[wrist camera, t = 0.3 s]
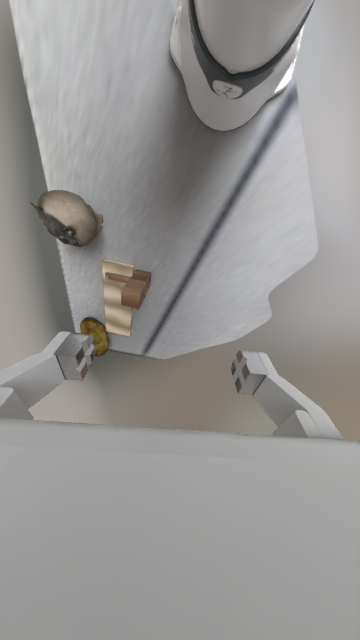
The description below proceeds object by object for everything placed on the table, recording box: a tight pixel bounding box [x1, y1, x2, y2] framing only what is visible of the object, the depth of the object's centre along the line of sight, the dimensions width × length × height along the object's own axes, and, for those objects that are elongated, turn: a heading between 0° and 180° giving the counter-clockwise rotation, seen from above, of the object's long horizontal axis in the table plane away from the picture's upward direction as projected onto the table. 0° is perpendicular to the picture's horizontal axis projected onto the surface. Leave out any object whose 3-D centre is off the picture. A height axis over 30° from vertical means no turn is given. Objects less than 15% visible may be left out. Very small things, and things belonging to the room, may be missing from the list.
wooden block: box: [105, 270, 151, 309], centre depth 44 cm, size 4×11×12 cm, turn 78°
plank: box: [102, 259, 135, 336], centre depth 53 cm, size 24×8×2 cm, turn 168°
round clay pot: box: [31, 190, 103, 247], centre depth 36 cm, size 10×12×10 cm
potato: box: [80, 317, 109, 356], centre depth 58 cm, size 8×13×8 cm, turn 174°
